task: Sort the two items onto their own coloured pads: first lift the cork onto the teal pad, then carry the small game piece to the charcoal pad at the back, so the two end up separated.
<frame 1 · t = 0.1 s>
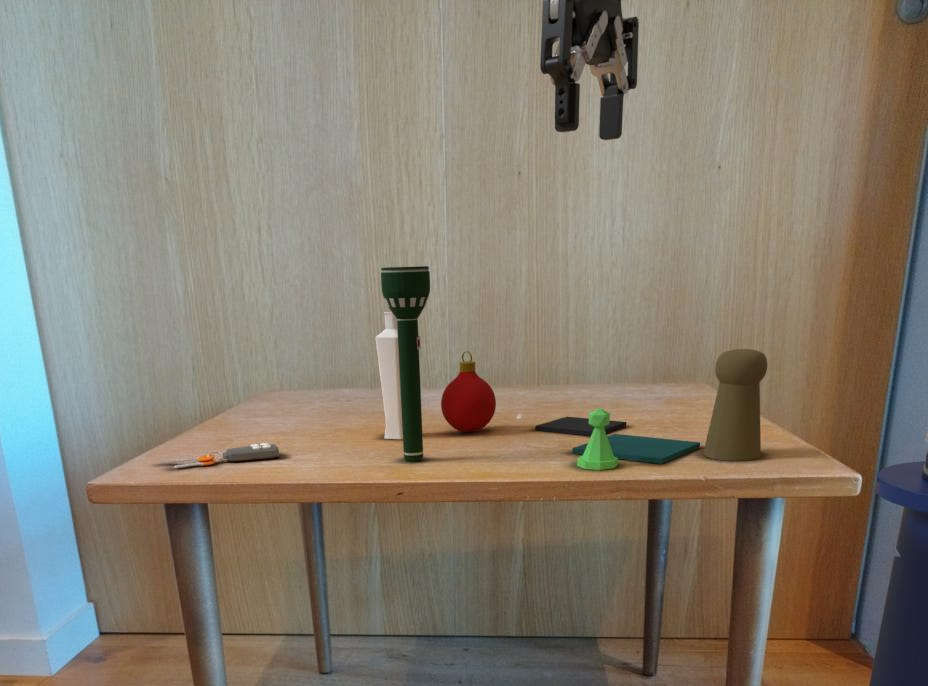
hand: (589, 135, 83), 31 cm above the table, tool pointing down, fingers open, 8 cm apart
christmas ornament: (469, 433, 111), on the table
teal pad: (636, 450, 97), on the table
cork: (731, 456, 93), on the table
game piece: (597, 467, 90), on the table
flashlight: (413, 461, 96), on the table
key chain: (222, 463, 98), on the table
perfume bottle: (399, 437, 109), on the table
charcoal pad: (580, 428, 110), on the table
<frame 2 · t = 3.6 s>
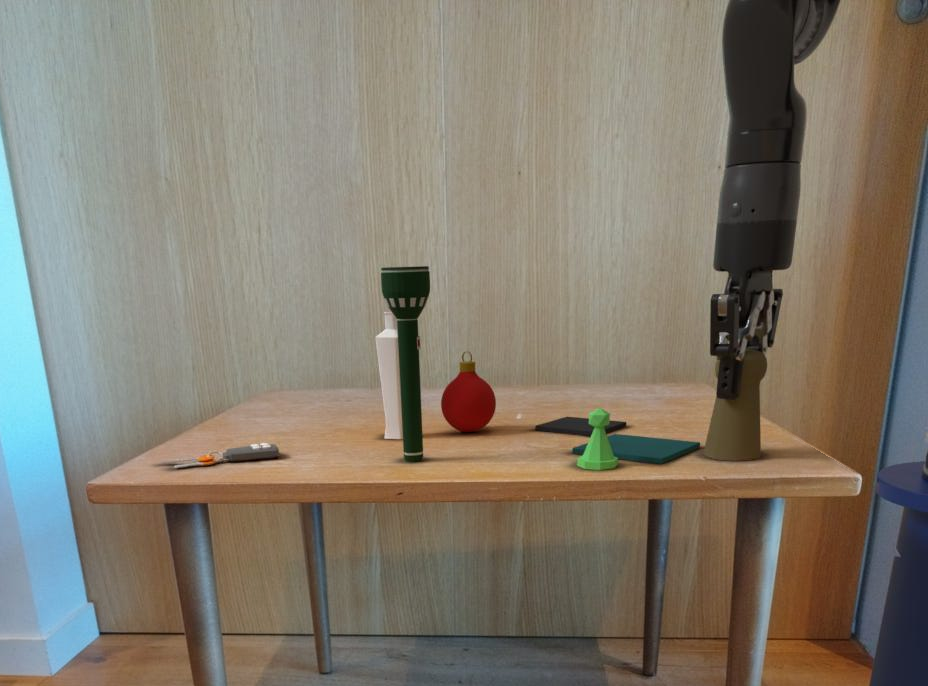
hand: (737, 394, 90), 6 cm above the table, tool pointing down, fingers closed on cork, 5 cm apart
cork: (731, 456, 93), on the table, touching gripper
everything else where it was.
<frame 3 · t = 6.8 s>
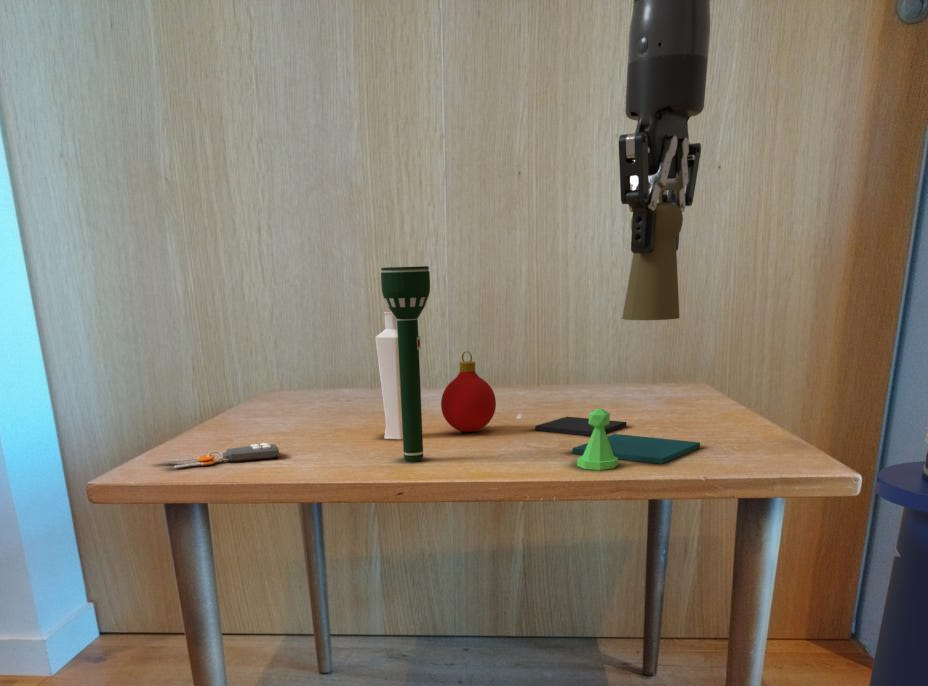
hand: (654, 252, 88), 21 cm above the table, tool pointing down, fingers closed on cork, 5 cm apart
cork: (650, 320, 91), point 14 cm above the table, touching gripper
everything else where it was.
when the fingers open (7 cm above the table, at t = 10.3 s): cork stays where it is, resting on teal pad.
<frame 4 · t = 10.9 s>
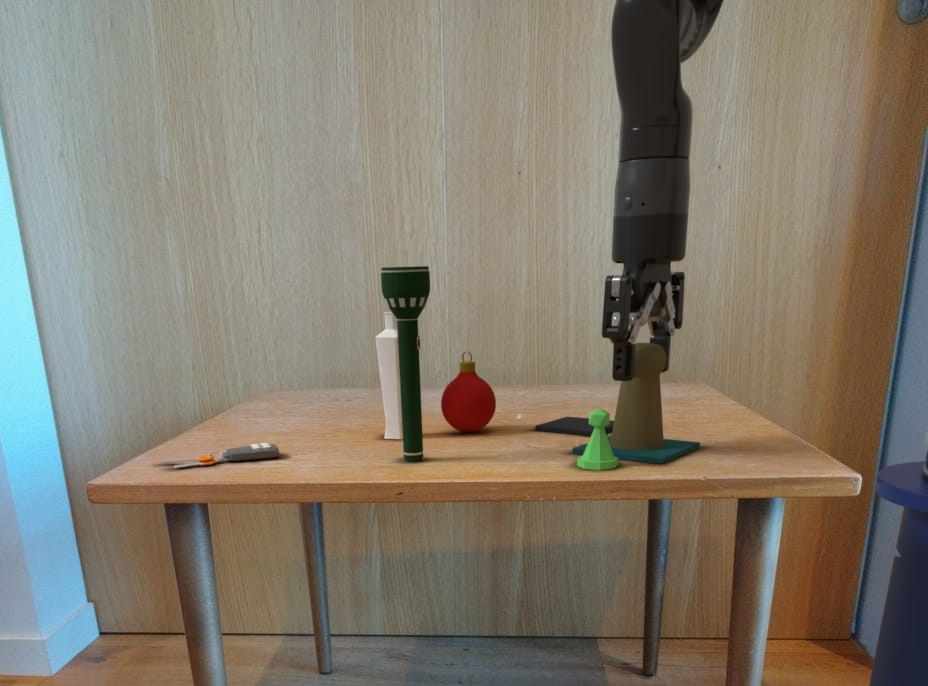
hand: (641, 376, 93), 8 cm above the table, tool pointing down, fingers open, 8 cm apart
cork: (636, 446, 97), resting on teal pad
everything else where it was.
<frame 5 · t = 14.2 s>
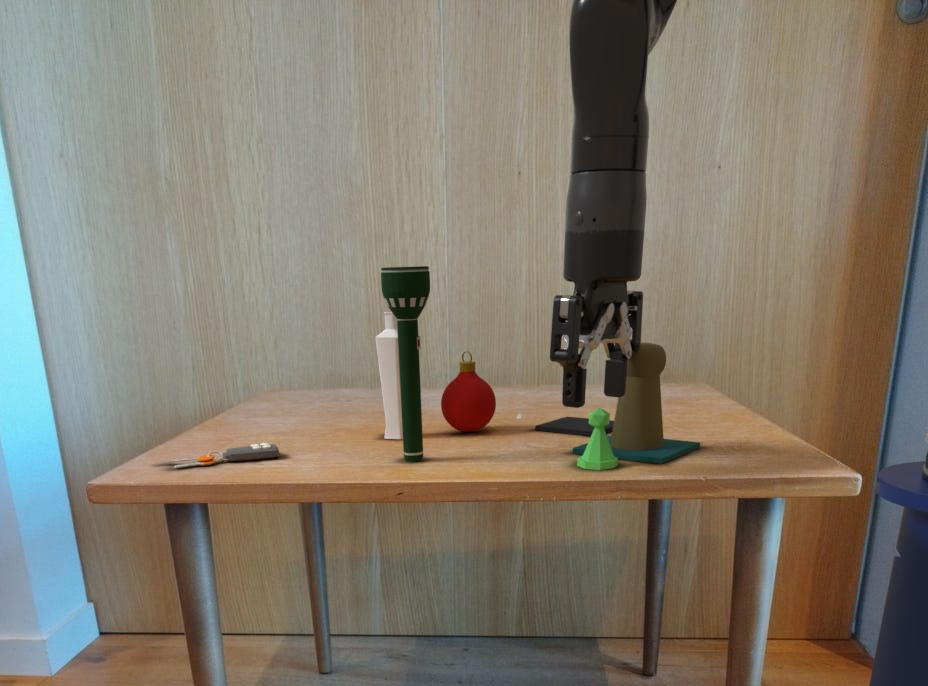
hand: (594, 401, 88), 7 cm above the table, tool pointing down, fingers open, 8 cm apart
cork: (636, 446, 97), resting on teal pad, touching gripper
everything else where it was.
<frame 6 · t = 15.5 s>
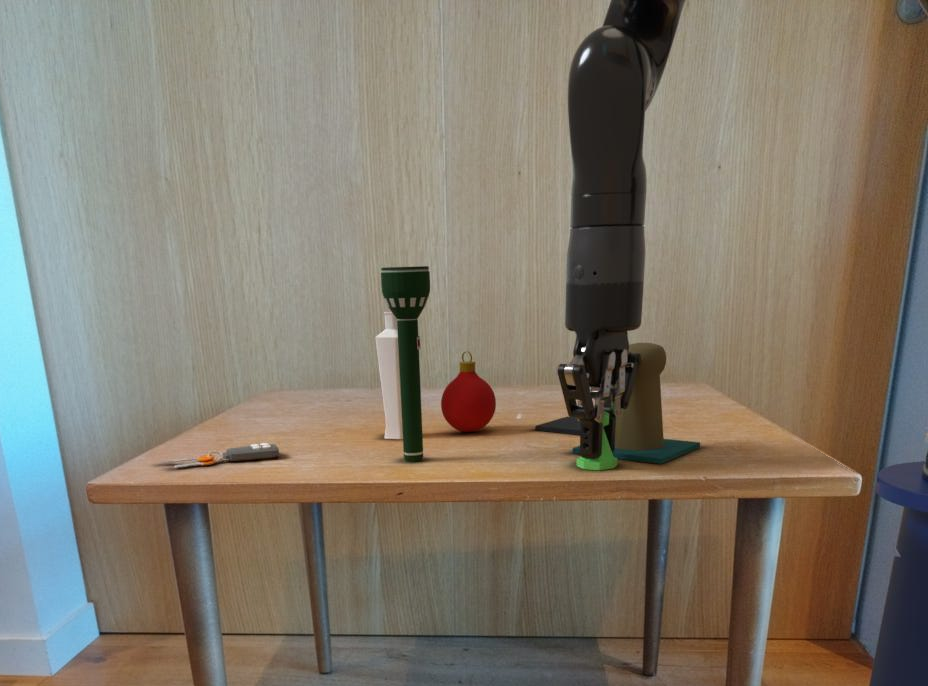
hand: (597, 454, 90), 1 cm above the table, tool pointing down, fingers closed on game piece, 2 cm apart
cork: (636, 446, 97), resting on teal pad
game piece: (596, 467, 90), on the table, touching gripper
everything else where it was.
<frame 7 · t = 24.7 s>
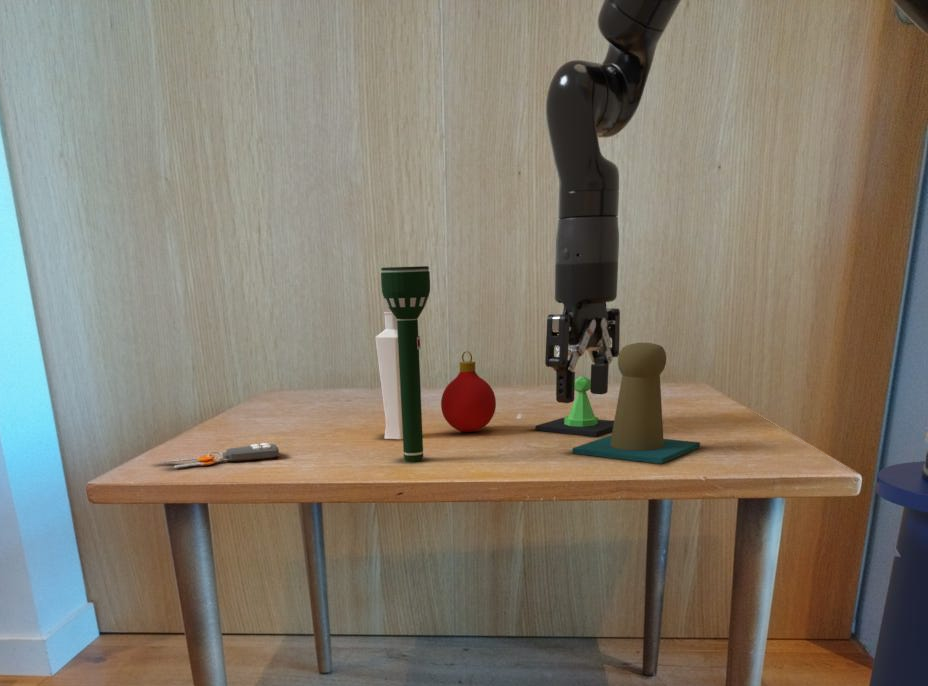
hand: (582, 398, 109), 4 cm above the table, tool pointing down, fingers open, 8 cm apart
game piece: (580, 425, 110), resting on charcoal pad
everything else where it was.
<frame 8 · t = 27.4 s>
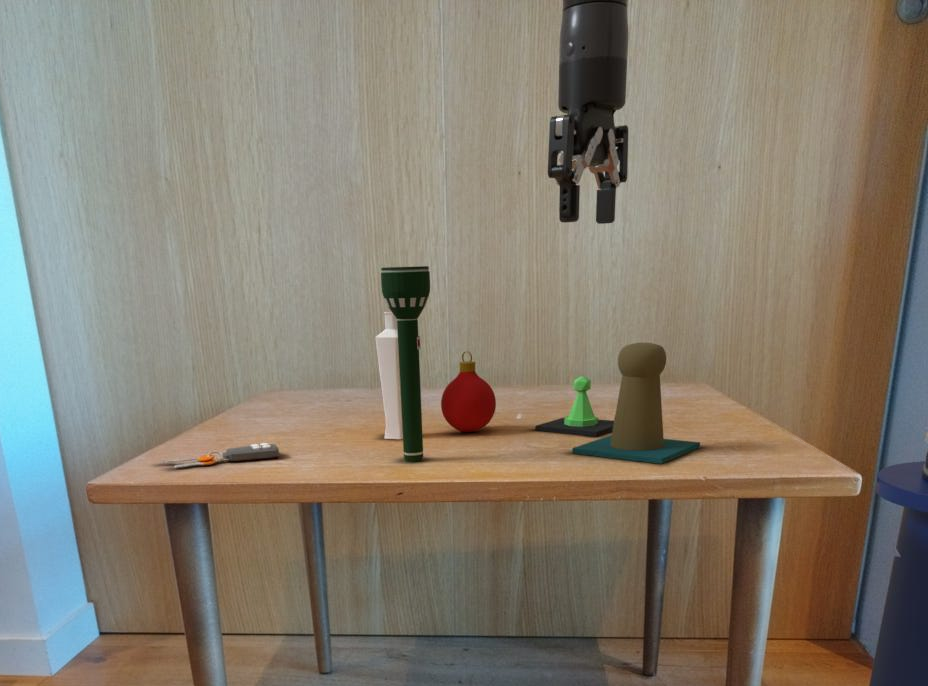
hand: (587, 222, 100), 24 cm above the table, tool pointing down, fingers open, 8 cm apart
nothing on the table moved.
at the end: cork inside the target area on the teal pad (0.0 cm from its centre), point 0.4 cm above the teal pad's base; game piece inside the target area on the charcoal pad (0.1 cm from its centre), point 0.4 cm above the charcoal pad's base; cork tilted 0° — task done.
